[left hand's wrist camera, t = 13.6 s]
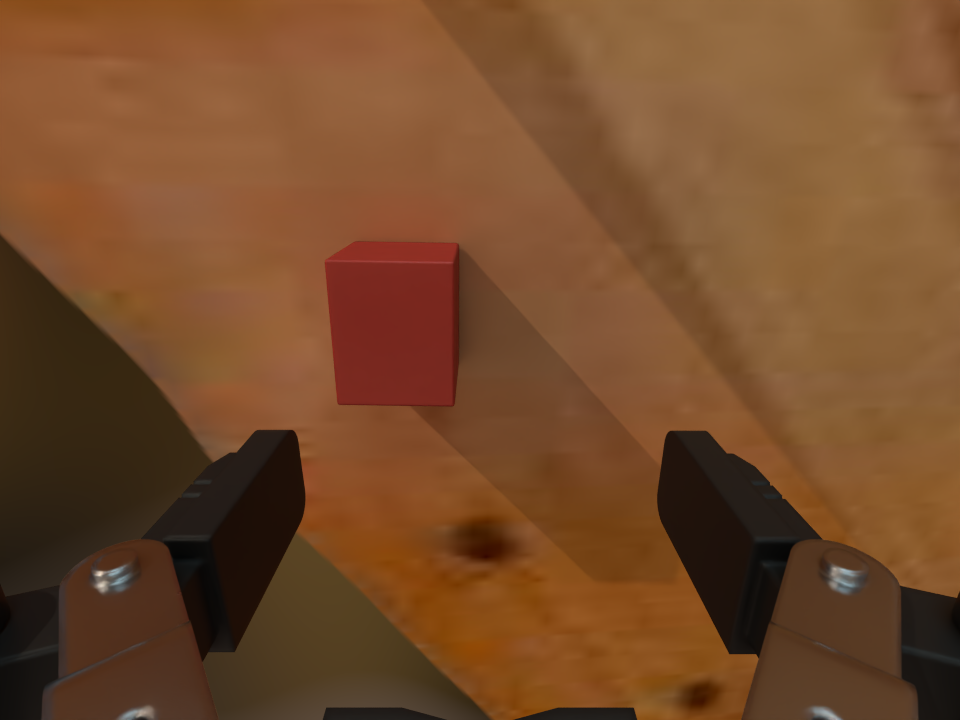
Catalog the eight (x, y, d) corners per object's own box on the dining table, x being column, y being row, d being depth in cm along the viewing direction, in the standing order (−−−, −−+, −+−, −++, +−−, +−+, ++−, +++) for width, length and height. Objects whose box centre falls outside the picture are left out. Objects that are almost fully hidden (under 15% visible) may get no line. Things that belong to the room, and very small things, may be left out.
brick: (458, 242, 20) (454, 261, 16) (458, 364, 21) (454, 407, 18) (353, 241, 20) (323, 259, 16) (362, 362, 21) (337, 405, 18)
